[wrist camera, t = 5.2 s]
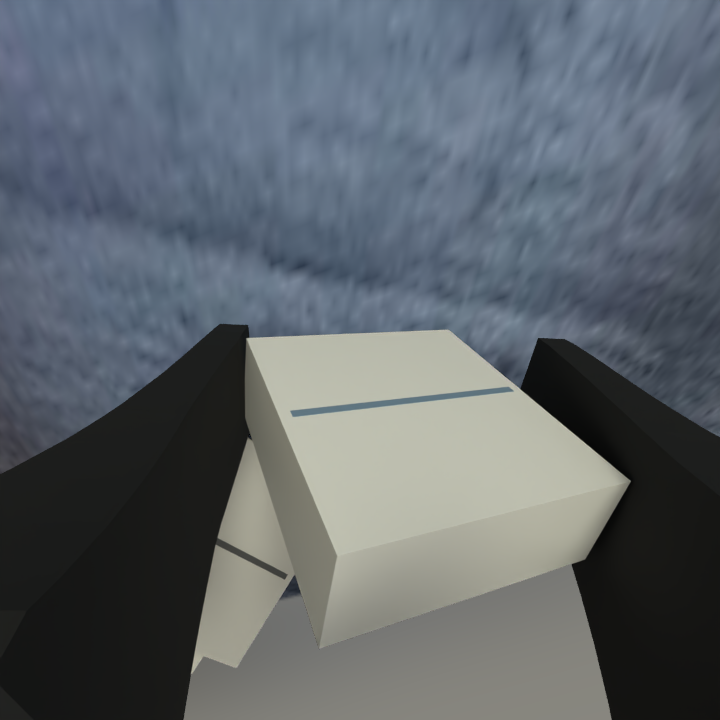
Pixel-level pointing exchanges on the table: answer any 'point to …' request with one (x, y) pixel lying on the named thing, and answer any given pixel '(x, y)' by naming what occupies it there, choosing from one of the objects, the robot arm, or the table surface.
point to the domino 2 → (413, 475)
